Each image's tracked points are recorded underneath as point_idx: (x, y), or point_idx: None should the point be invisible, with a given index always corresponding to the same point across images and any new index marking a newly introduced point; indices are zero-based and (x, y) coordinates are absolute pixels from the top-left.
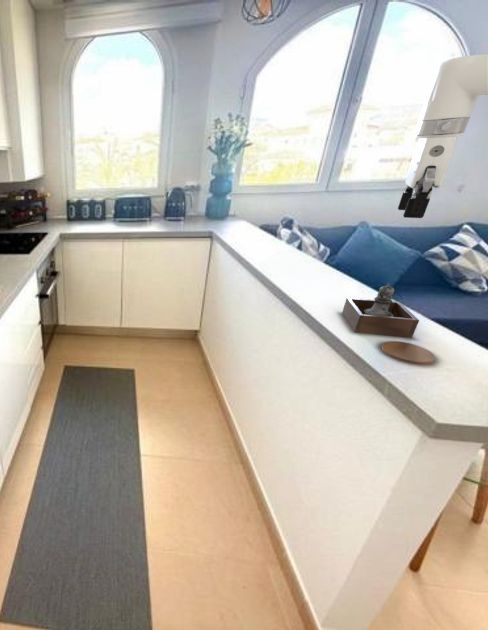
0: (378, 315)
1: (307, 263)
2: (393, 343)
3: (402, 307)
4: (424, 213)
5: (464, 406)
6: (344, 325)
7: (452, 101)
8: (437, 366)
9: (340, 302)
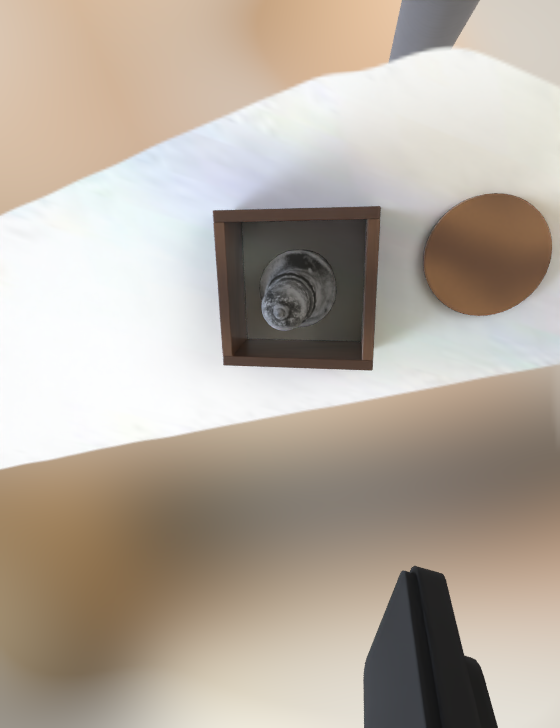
0: (326, 300)
1: None
2: (441, 278)
3: (269, 219)
4: (451, 608)
5: None
6: None
7: None
8: (556, 203)
9: (147, 326)
